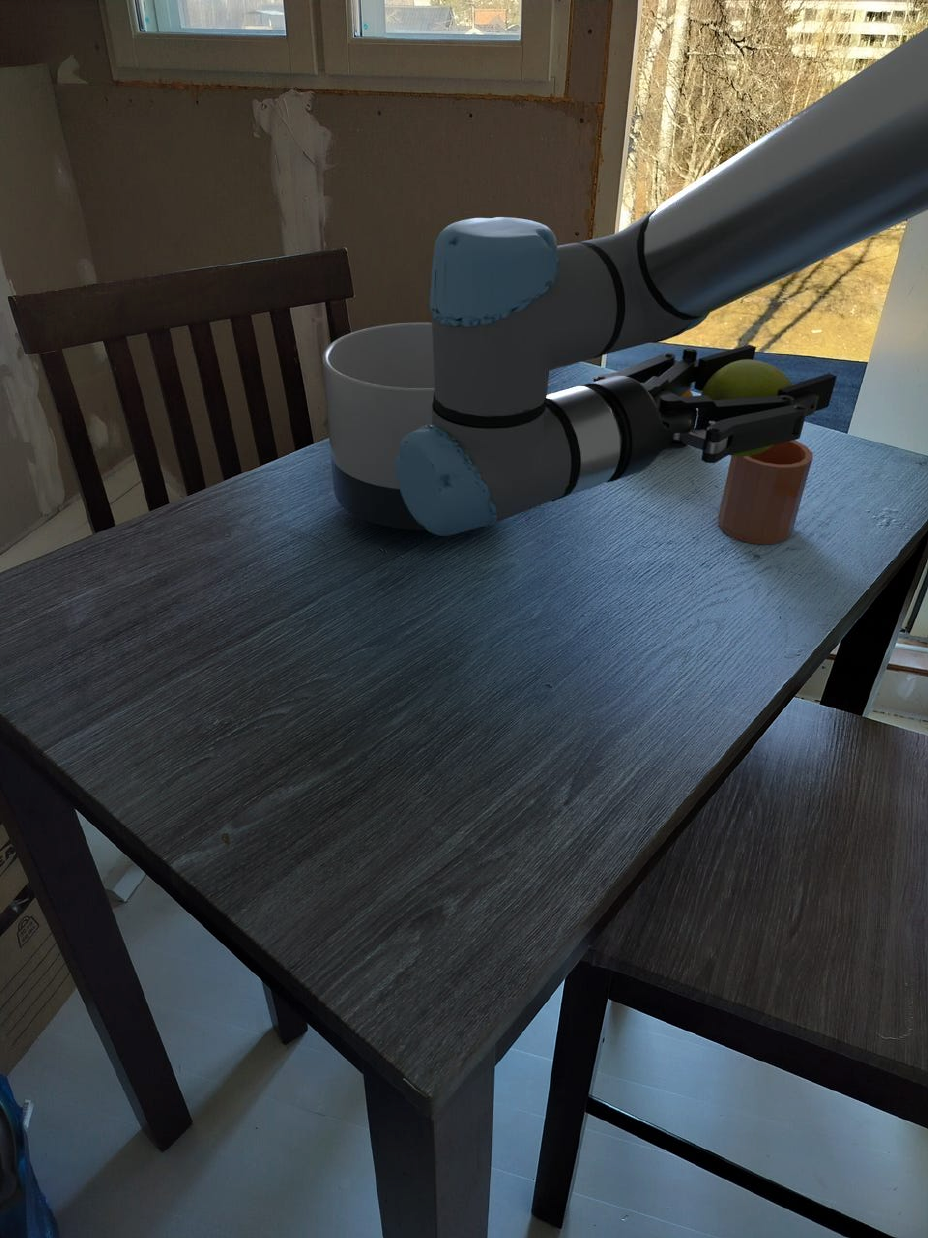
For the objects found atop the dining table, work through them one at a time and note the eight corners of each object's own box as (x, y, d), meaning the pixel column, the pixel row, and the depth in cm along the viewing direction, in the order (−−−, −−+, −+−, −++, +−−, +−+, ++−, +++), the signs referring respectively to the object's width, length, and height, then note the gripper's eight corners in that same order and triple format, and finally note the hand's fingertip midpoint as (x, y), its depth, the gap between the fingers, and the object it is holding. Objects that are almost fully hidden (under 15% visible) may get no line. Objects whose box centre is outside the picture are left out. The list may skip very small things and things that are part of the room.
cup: (803, 524, 93) (825, 449, 88) (771, 552, 88) (792, 474, 83) (738, 501, 97) (755, 427, 92) (704, 526, 93) (720, 450, 87)
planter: (525, 549, 88) (535, 384, 78) (338, 561, 86) (323, 394, 76) (493, 465, 104) (498, 318, 93) (334, 474, 101) (320, 324, 91)
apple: (672, 456, 75) (687, 367, 70) (718, 423, 81) (734, 339, 76) (756, 482, 71) (778, 389, 66) (798, 446, 77) (821, 358, 72)
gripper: (507, 433, 73) (692, 379, 83) (684, 537, 59) (879, 457, 70) (510, 346, 68) (706, 301, 79) (703, 437, 55) (908, 368, 65)
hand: (787, 374), depth 74 cm, fingers closed on apple, 8 cm apart
